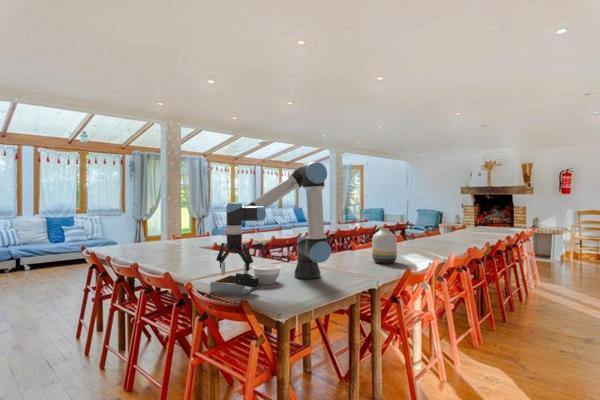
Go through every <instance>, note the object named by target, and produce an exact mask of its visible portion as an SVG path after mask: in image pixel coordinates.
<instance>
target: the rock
mask: <svg viewBox="0 0 600 400" xmlns="http://www.w3.org/2000/svg"><path fill="white" fill-rule="evenodd" d="M235 275H236V282H237V283H238V284H243V285H244V286H247V287H252V288H254V287H257V286H258V285H259V281H258V279H257V278H255V275H251V274H250V273H248V274H244V273H235Z"/></svg>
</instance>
